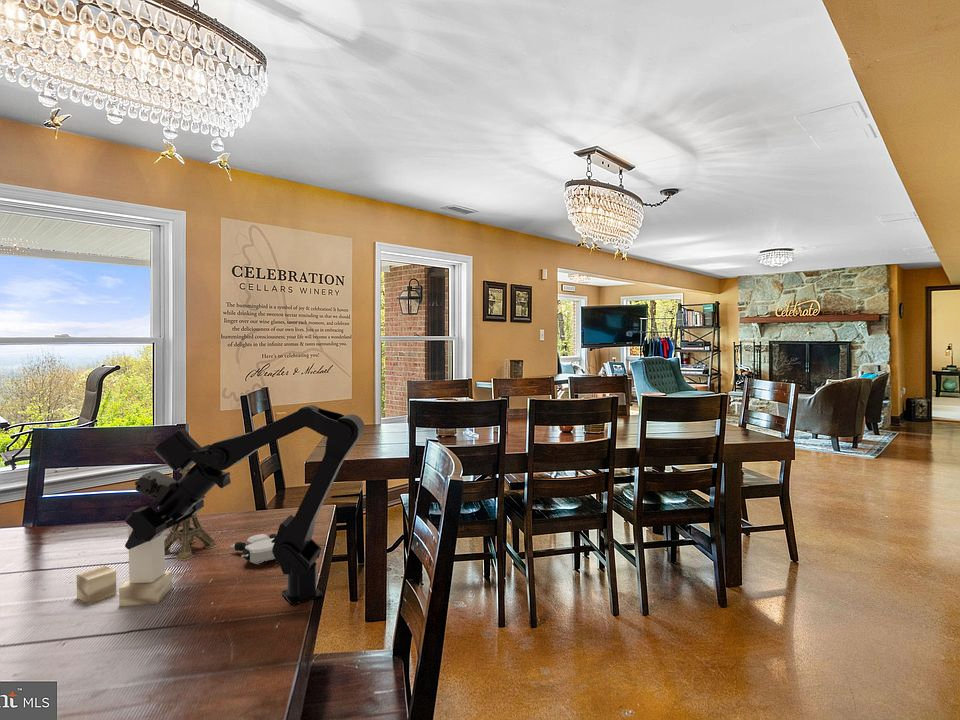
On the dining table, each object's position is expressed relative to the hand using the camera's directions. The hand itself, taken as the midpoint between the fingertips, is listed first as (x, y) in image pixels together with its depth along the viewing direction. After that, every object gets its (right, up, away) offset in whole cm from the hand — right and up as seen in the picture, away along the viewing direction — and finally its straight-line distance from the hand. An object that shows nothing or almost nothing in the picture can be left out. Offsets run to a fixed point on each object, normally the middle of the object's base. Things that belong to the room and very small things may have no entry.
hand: (139, 540), depth 107 cm
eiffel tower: (-4, -11, +25) cm, 27 cm away
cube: (-9, -12, 0) cm, 15 cm away
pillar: (+2, -8, 0) cm, 8 cm away
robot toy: (+17, -11, +21) cm, 29 cm away
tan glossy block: (+1, -12, 0) cm, 12 cm away
